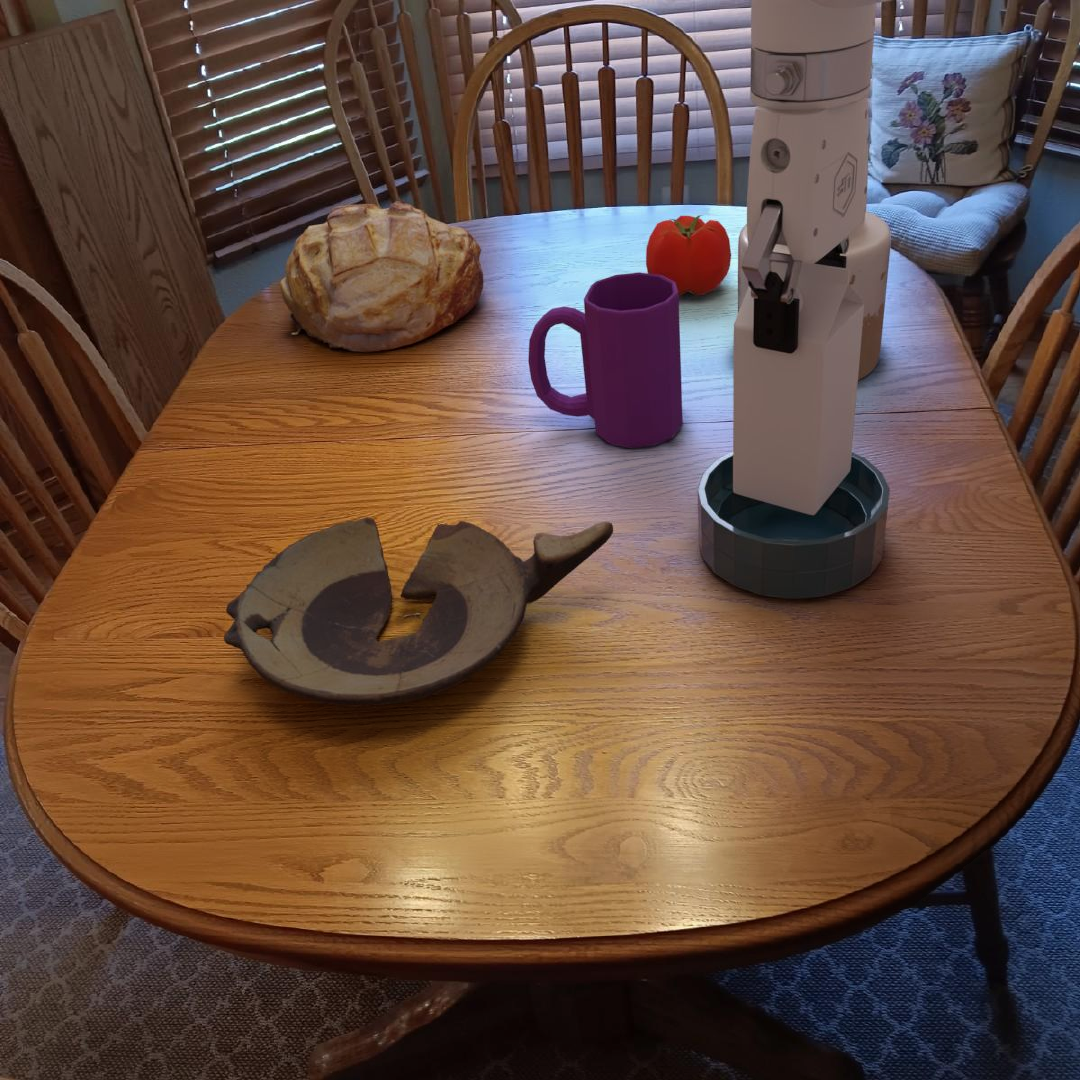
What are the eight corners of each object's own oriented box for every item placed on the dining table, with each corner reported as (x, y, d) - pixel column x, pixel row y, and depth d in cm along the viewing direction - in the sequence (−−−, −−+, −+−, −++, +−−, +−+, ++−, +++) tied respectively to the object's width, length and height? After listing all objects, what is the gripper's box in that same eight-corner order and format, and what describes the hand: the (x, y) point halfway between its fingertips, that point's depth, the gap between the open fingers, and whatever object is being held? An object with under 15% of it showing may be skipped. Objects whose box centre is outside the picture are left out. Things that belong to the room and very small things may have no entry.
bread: (347, 278, 153) (316, 176, 144) (516, 272, 142) (493, 161, 134) (253, 358, 135) (211, 247, 127) (438, 359, 124) (405, 237, 116)
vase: (868, 323, 121) (880, 178, 111) (890, 388, 109) (906, 231, 99) (734, 330, 123) (734, 189, 113) (741, 394, 111) (742, 242, 101)
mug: (675, 453, 103) (670, 312, 94) (525, 446, 107) (506, 310, 98) (689, 406, 110) (685, 271, 101) (547, 401, 114) (532, 271, 105)
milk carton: (771, 452, 90) (777, 238, 78) (850, 473, 86) (869, 251, 75) (732, 494, 85) (733, 273, 74) (814, 518, 82) (828, 289, 70)
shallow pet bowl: (910, 524, 90) (917, 465, 87) (837, 627, 81) (842, 566, 77) (749, 479, 98) (750, 424, 95) (667, 569, 89) (664, 511, 85)
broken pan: (305, 550, 97) (284, 481, 92) (627, 563, 90) (621, 489, 85) (195, 730, 79) (163, 656, 75) (584, 762, 73) (574, 683, 68)
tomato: (632, 287, 136) (628, 222, 131) (704, 266, 139) (703, 201, 134) (674, 315, 128) (672, 247, 123) (749, 292, 131) (750, 224, 126)
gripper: (807, 113, 59) (795, 388, 70) (918, 40, 70) (893, 288, 81) (691, 105, 63) (696, 367, 74) (812, 36, 74) (802, 274, 85)
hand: (799, 324), depth 77 cm, fingers closed on milk carton, 7 cm apart
